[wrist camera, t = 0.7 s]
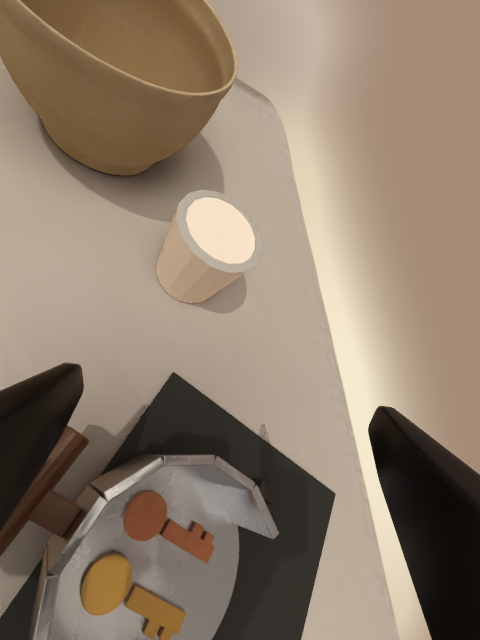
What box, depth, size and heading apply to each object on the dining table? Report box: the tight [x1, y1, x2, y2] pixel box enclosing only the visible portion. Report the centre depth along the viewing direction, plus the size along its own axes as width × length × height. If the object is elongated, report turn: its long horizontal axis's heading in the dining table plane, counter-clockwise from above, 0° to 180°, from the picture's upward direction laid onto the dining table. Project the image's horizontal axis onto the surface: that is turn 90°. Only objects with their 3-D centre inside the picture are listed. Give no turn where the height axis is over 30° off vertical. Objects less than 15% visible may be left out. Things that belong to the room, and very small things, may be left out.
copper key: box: [123, 491, 215, 564], centre depth 17 cm, size 6×2×1 cm, turn 59°
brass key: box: [80, 552, 186, 640], centre depth 16 cm, size 6×2×1 cm, turn 59°
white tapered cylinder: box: [156, 189, 262, 304], centre depth 24 cm, size 7×7×7 cm
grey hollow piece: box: [0, 425, 279, 640], centre depth 15 cm, size 11×14×5 cm
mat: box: [0, 373, 335, 640], centre depth 18 cm, size 20×18×2 cm
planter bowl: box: [0, 0, 238, 175], centre depth 23 cm, size 16×16×11 cm
